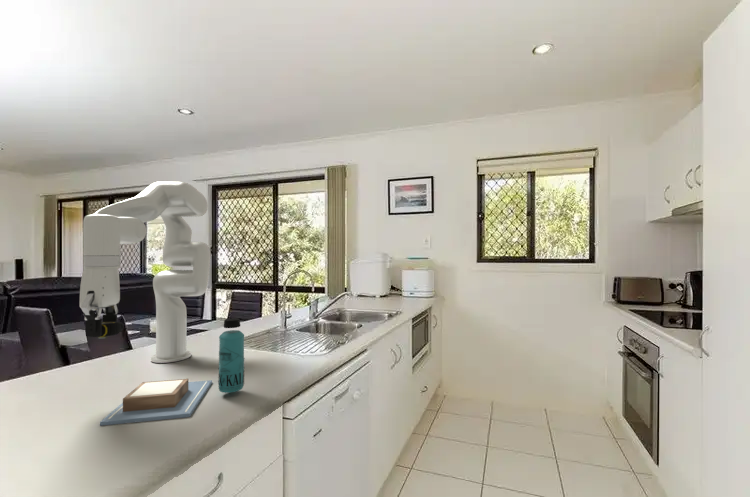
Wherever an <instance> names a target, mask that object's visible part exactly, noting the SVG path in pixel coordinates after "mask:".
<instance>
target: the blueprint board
mask: <svg viewBox="0 0 750 497" xmlns="http://www.w3.org/2000/svg"><path fill="white" fill-rule="evenodd" d="M212 384H213V380H211V379H210V380H199V381H198V380H197V381H189V378H183V379H182V378H179V379H169V380H156V381H152V380H151V381H143V382H141V383H140V384H139V385H137V386H136V387H135V388H134V389H133V390H131V392H130V393H128V394H127V395H125V396H124V397H123V398H122V403H120V404H119V405H117V407H115V409H113V410H112V411H111V412H110V413H109V414H107V416H105V417H104V418H103V419H102V420H100V421H99V426H100V427H101V426H110V425H120V424H130V423H131V424H132V423H139V422H140V423H141V422H151V421H152V422H153V421H161V420H171V419H173V420H174V419H182V418H191V416H192V414H193V413H194V411H195V410H196V408H197V407H198V405H199V404H200V402H201V401H202V399H203V397H204V396H205V394H206V393H207V392H208V390H209V389H210V387H211V385H212Z"/></svg>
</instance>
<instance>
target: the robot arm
mask: <svg viewBox="0 0 750 497" xmlns="http://www.w3.org/2000/svg"><path fill="white" fill-rule="evenodd" d="M208 207H209V205H208V201H207V198H206V196H205V195H204V194H203V193H201V192H200V190H198V189H197V188H196V187H194V186H193V185H192V184H189V183H188V182H185V181H156V182H153V183H150V184H149V185H148V186H147V187H146V188H144V189H143V190H142V191H140V192H139V193H138V194H137V195H135V196H134V197H131V198H128V199H127V198H126V199H125V200H122V201H119V202H116V203H112V204H110V205H106V206H105V207H102V208H100V209H98V210H97V211H95V212H94V213H92V214H87V215H85V216H84V217H83V224H82V225H83V226H82V233H83V234H82V235H83V236H82V238H83V241H82V243H83V246H82V248H83V250H82V252H83V254H82V255H83V256H82V262H83V263H82V264H83V265H82V267H83V268H82V272H81V278H80V280H81V281H80V285H79V286H80V288H79V308H80V309H81V311H82V314H83V316H84V319H83V320H84V321H85V337H87V338H88V337H89V336H100V335H101V334H102V322H110V321H113V322H118V313H119V309H118V308H119V303H120V300H121V286H120V285H121V284H120V273H119V269H121V245H133V244H137V243H141V242H142V241H143V240H144V239H145V237H146V235H147V227H146V225H145V223H148V222H152V221H154V220H156V219H158V218H159V217H161V219H162V221H163V223H164V227H165V237H164V242H163V250H162V263H163V265H165V266H167V267H170V268H192V269H186V270H185V269H167V270H162V271H160V272H157V273H156V274H155V275H154V277H153V279H152V287H153V292H154V297H155V351H156V352H155V354H154V355H151V357H150V361H151V362H152V363H156V364H165V363H175V362H180V361H183V360H184V361H185V360H186V359H189V358H190V357H191V356H192V352H191V351H190V350H187V319H188V318H187V314H188V313H187V306H186V304H185V302H184V301H183V299H182V298H181V297H199V296H203V295H204V294H205V293H206V291H207V289H208V288H207V287H208V284H209V283H208V282H209V275H210V264H211V250H210V247H209V245H208V244H207V243H205V242H203V241H192V232H193V231H192V230H193V229H192V228H191V226H190V224H188V222H187V221H186V220H185V219H184V218H183V217H189V218H190V217H191V218H192V217H193V218H194V217H196V218H197V217H203V216H205V215H206V213H207V211H208V209H209V208H208ZM102 310H103V314H102ZM101 314H102V319H100V318H101Z"/></svg>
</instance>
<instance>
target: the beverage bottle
mask: <svg viewBox="0 0 750 497" xmlns="http://www.w3.org/2000/svg"><path fill="white" fill-rule="evenodd" d="M240 320H241V319H240V318H237V317H235V318H226V319H224V320H223V328H224V329H231V330H226V331H223V332H222V333H221V334H220V335H219V337H218V338H219V346H218V347H219V348H218V349H219V351H218V380H217V382H218V383H217V384H218V390H219V392H221V393H223V394H224V393H225V394H229V393H235V392H238V391H241V390H243V388H244V385H245V360H246V358H245V357H244V356H245V333H243V332H242V331H241V330H239V329H238V330H237V329H235V328H240V327H241V321H240ZM232 329H233V330H232Z"/></svg>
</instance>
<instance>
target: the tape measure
mask: <svg viewBox="0 0 750 497" xmlns="http://www.w3.org/2000/svg"><path fill="white" fill-rule="evenodd" d="M124 325H125V324H124V323H123V322H120V321H117V322H113V321H110V322H103V321H102V334H101V335H100V336H88V337H89V338H97V339H107V338H108V337H111V336H113V337H114V336H116V335H118V334H119V333H121V332H122V331H124V328H125V327H124Z"/></svg>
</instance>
